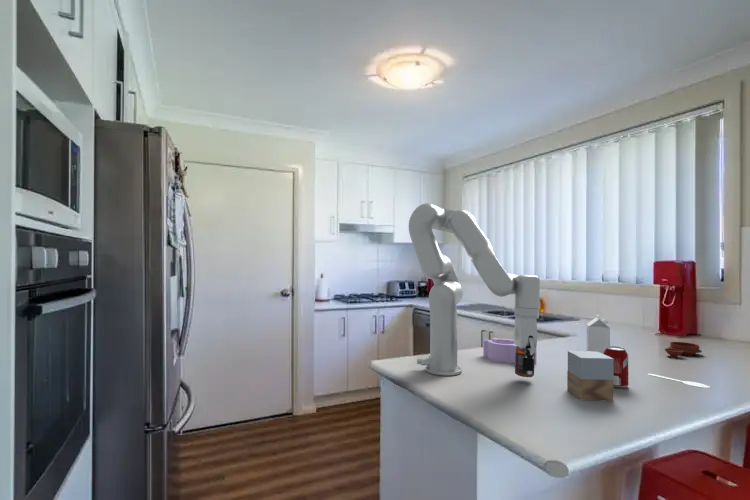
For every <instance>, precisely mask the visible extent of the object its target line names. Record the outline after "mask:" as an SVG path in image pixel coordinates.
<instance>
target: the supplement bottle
mask: <svg viewBox="0 0 750 500" xmlns="http://www.w3.org/2000/svg"><path fill="white" fill-rule="evenodd" d="M526 348H530V347H526ZM527 352H528V351H527ZM523 358H524V348H523V349H521V348H519V347H518V346H517V347H516V356H515V363H514V364H515V365H514V374H515V375H516V376H519V377H522V378H523V377H524V378H532V377H534V376H535V366H534V367H533V371H524V370H523ZM534 365H536V364H535V352H534Z"/></svg>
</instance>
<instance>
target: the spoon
mask: <svg viewBox="0 0 750 500" xmlns="http://www.w3.org/2000/svg"><path fill="white" fill-rule="evenodd" d="M647 376H652V377H655V376H656V377H655V378H661V379H664V380H669V379H670V380H669V381H674V382H680V383H682V384H684V385H686V386H690V387H695V388H702V389H704V388H705V389H711V386H710V385H706V384H704V383H700V382H697V381H687V380H681V379H676V378H672V377H668V376H663V375H658V374H656V373H654V374H653V373H647Z"/></svg>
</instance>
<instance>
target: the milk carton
mask: <svg viewBox="0 0 750 500" xmlns="http://www.w3.org/2000/svg"><path fill="white" fill-rule="evenodd" d="M608 323H609V321H607V320H606V319H605V318H604V317H602V319H600V315H599V314H596V317H594V318H593V319H592V320H590V321H589V322H587V323H586V351H593V352H600V353H602V354H604V351H605V350H606V346H611V328H610V326H608V325H607V324H608Z"/></svg>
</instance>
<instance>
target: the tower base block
mask: <svg viewBox="0 0 750 500" xmlns="http://www.w3.org/2000/svg"><path fill="white" fill-rule="evenodd" d="M566 374H567V377H566V379H567V382H566V383H567V384H566V385H567V391H568V392H569V391H570V392H569V393H570V394H572V395H573V396H575V397H576V396H577V397H576V398H578V399H579V400H580V399H581V400H580V401H601V400H606V402H614V387H613V380H596V379H580V378H579V377H577V376H575V375H574V374H572V373H571V372H569V371H568V370H567V373H566Z"/></svg>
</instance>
